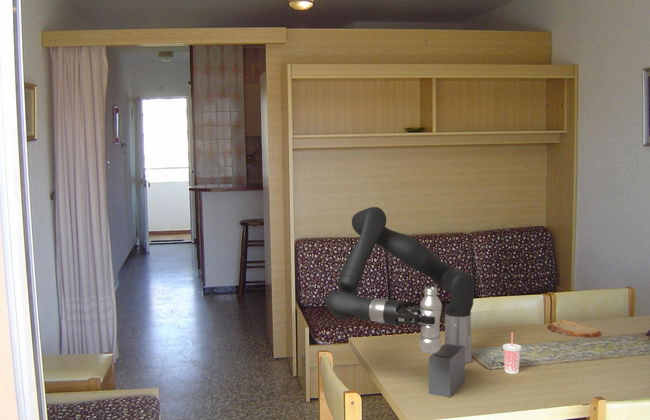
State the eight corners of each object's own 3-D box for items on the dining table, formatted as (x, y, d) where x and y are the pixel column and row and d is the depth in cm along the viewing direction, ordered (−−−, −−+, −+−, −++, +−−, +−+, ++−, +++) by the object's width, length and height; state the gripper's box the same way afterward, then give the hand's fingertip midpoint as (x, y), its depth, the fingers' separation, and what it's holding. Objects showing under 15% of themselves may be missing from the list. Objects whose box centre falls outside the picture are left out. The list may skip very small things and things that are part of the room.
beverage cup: (511, 375, 227) (511, 335, 226) (498, 370, 232) (499, 331, 231) (524, 372, 230) (525, 332, 228) (512, 367, 235) (512, 328, 234)
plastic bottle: (416, 349, 205) (417, 285, 202) (438, 348, 205) (439, 285, 203) (421, 356, 198) (422, 290, 196) (443, 355, 199) (444, 290, 196)
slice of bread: (603, 338, 269) (604, 329, 269) (559, 339, 269) (559, 330, 268) (585, 325, 287) (585, 317, 286) (544, 326, 286) (544, 318, 286)
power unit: (464, 380, 223) (465, 345, 222) (450, 397, 209) (450, 359, 208) (443, 377, 226) (443, 342, 225) (427, 393, 212) (427, 355, 211)
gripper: (377, 304, 200) (430, 311, 193) (395, 294, 213) (446, 300, 205) (377, 329, 201) (430, 336, 193) (395, 317, 214) (445, 324, 206)
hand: (438, 318), depth 199 cm, fingers closed on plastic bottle, 6 cm apart
